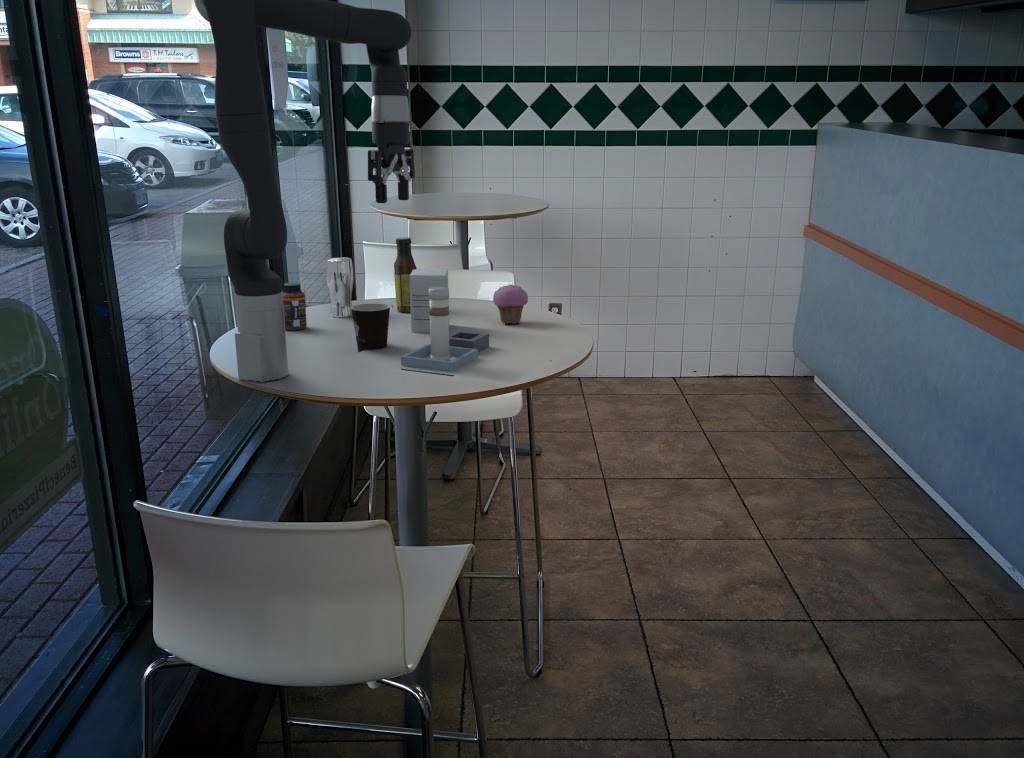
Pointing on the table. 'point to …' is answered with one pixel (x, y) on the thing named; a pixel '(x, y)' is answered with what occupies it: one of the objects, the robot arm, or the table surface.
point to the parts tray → (417, 361)
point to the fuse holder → (469, 340)
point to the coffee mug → (371, 325)
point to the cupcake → (510, 303)
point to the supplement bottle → (294, 307)
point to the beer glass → (340, 285)
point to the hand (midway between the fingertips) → (392, 201)
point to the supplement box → (424, 296)
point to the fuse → (439, 323)
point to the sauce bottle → (403, 273)
